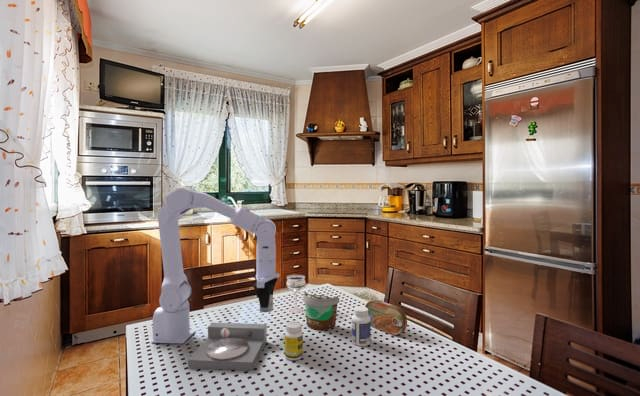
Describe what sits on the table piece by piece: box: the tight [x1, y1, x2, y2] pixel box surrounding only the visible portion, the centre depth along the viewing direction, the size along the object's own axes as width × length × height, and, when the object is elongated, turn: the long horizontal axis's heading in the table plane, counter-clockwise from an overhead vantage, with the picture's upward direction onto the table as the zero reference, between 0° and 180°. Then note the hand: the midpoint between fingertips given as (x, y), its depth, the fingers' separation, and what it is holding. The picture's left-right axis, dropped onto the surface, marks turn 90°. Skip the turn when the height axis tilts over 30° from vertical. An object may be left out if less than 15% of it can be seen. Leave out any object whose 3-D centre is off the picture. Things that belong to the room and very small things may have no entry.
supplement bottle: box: [284, 321, 304, 361], centre depth 86 cm, size 5×5×8 cm
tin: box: [364, 299, 408, 336], centre depth 102 cm, size 15×3×8 cm, turn 41°
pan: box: [207, 338, 248, 360], centre depth 85 cm, size 10×10×1 cm
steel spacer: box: [259, 293, 274, 313], centre depth 99 cm, size 4×4×4 cm
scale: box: [187, 322, 268, 371], centre depth 87 cm, size 16×15×5 cm
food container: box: [302, 291, 340, 331], centre depth 103 cm, size 12×6×10 cm, turn 68°
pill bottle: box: [351, 306, 372, 347], centre depth 94 cm, size 5×5×10 cm
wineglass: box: [286, 274, 306, 314], centre depth 118 cm, size 7×7×12 cm
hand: (266, 304), depth 99 cm, fingers closed on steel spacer, 4 cm apart
